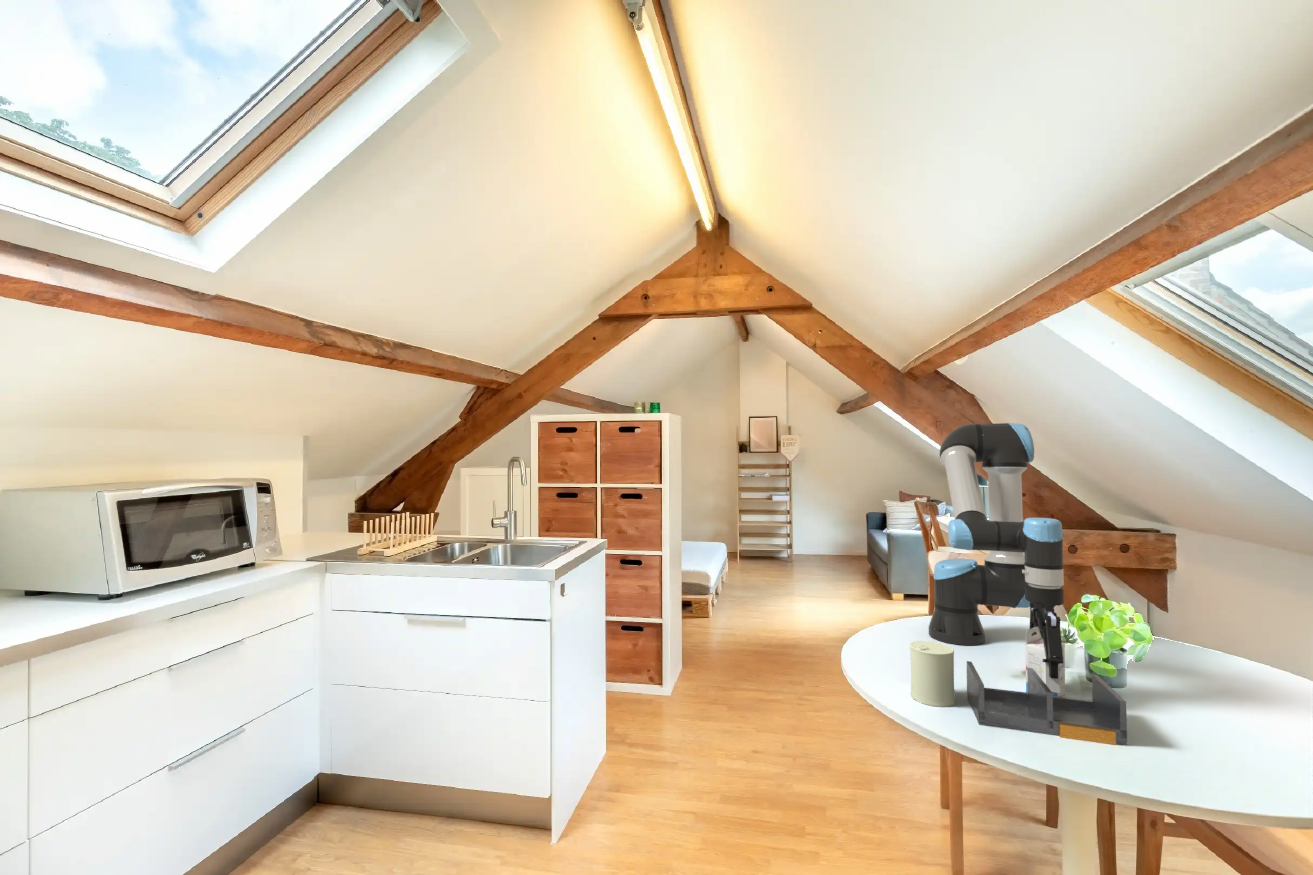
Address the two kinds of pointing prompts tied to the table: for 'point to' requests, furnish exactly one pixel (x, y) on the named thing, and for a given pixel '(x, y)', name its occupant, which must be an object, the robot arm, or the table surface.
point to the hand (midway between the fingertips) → (1045, 682)
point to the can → (932, 673)
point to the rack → (1050, 710)
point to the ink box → (1041, 658)
